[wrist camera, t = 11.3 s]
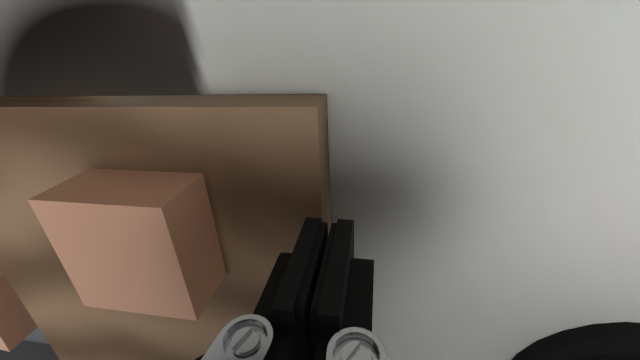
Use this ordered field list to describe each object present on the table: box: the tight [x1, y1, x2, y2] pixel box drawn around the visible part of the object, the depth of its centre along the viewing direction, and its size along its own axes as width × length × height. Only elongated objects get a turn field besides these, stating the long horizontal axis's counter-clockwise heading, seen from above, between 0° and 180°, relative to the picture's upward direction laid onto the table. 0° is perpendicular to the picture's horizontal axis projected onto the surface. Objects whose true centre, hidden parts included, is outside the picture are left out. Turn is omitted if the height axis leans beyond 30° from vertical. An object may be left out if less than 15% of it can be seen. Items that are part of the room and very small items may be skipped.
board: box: [0, 94, 331, 360], centre depth 16 cm, size 18×18×2 cm
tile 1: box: [28, 169, 226, 321], centre depth 12 cm, size 5×5×2 cm
